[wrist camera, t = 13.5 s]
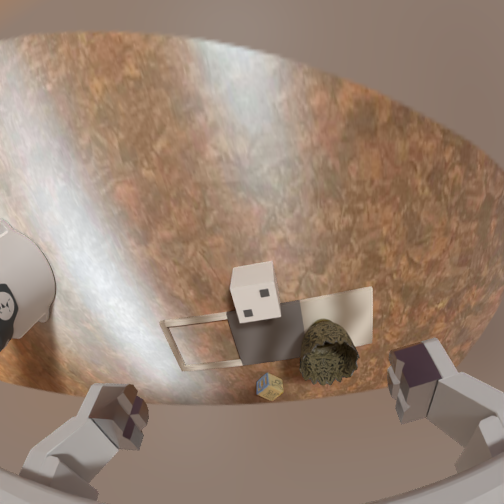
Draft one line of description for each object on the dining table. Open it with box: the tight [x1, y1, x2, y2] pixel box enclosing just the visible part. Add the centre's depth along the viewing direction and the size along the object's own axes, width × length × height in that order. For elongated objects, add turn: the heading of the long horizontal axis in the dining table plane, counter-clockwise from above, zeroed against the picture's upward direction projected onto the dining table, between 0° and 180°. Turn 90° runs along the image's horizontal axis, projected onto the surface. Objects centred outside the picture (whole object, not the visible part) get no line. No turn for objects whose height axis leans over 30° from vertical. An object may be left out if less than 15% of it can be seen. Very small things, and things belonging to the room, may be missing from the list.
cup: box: [300, 318, 360, 385], centre depth 40 cm, size 8×7×8 cm
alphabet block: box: [257, 373, 283, 401], centre depth 48 cm, size 3×3×3 cm
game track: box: [159, 286, 373, 371], centre depth 44 cm, size 30×10×1 cm, turn 102°
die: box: [230, 261, 281, 323], centre depth 39 cm, size 5×5×5 cm
